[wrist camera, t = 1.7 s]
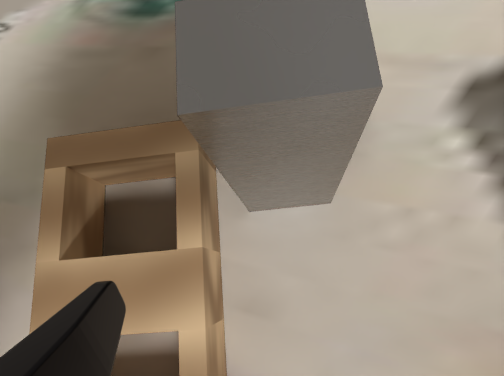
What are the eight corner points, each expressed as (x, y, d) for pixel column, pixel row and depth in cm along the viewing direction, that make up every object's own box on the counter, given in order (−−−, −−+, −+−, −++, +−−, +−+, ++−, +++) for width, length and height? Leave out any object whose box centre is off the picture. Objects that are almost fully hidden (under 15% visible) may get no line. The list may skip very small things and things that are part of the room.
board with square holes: (231, 462, 17) (212, 515, 14) (71, 466, 18) (12, 516, 15) (214, 145, 22) (197, 117, 18) (88, 161, 23) (47, 138, 19)
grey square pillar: (330, 203, 20) (382, 86, 8) (249, 211, 21) (177, 115, 8) (321, 143, 21) (356, -43, 9) (245, 153, 22) (174, -10, 9)
